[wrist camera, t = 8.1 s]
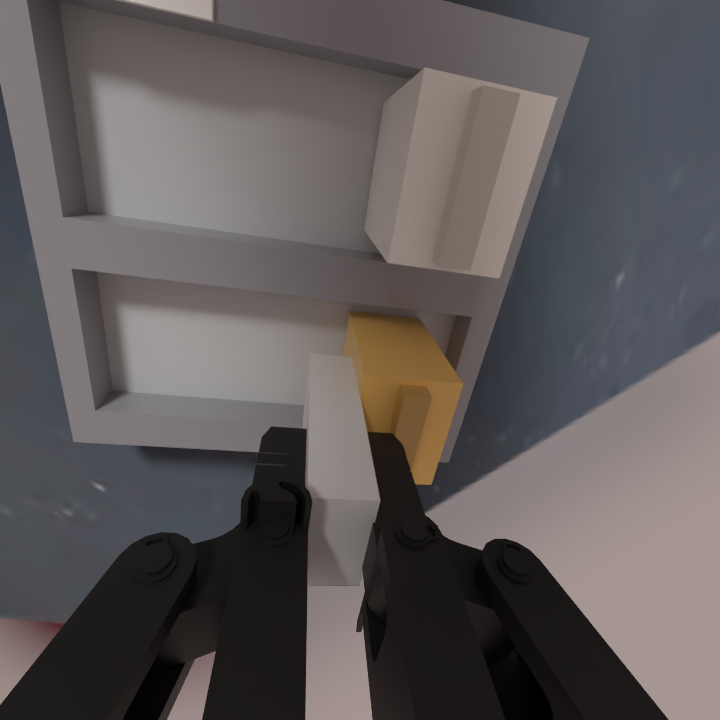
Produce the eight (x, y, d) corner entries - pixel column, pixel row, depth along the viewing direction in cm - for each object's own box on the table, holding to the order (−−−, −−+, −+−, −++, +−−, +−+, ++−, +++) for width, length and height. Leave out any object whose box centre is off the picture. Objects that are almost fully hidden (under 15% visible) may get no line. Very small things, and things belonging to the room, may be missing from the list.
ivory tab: (363, 229, 14) (391, 268, 9) (383, 103, 13) (432, 60, 7) (440, 241, 15) (509, 285, 10) (469, 121, 13) (574, 92, 8)
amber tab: (336, 394, 18) (345, 494, 12) (349, 310, 16) (366, 385, 10) (400, 399, 18) (436, 498, 13) (420, 318, 16) (470, 394, 11)
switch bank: (108, 401, 18) (70, 445, 15) (41, -58, 11) (-50, -131, 9) (431, 424, 21) (450, 465, 18) (537, 61, 14) (594, 36, 11)
